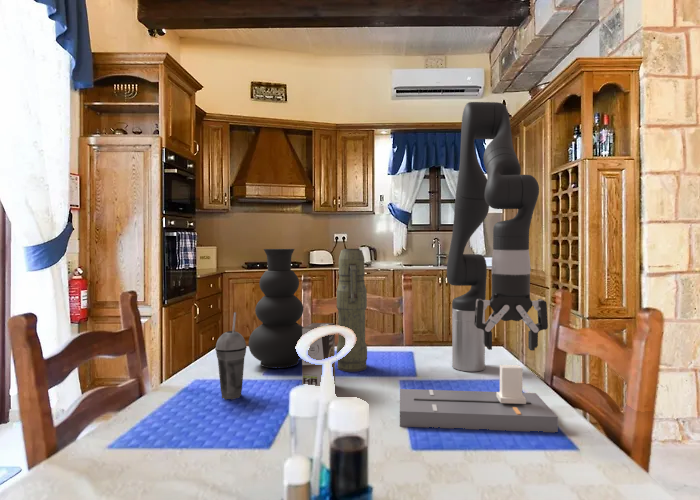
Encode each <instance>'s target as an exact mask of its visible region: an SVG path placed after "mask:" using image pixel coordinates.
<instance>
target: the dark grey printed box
mask: <svg viewBox="0 0 700 500" xmlns="http://www.w3.org/2000/svg"><path fill="white" fill-rule="evenodd" d="M327 325H335V323H334V322H311V323H310V324H308V325H306V326H304V328H302V335H303V334H305V333H307V332H308V331H310V330H312V329H314V328H317V327H321V326H327ZM335 326H336V325H335ZM335 338H336V336H335V334H334V335H328V336H325V337H322V338H320V339H318V340H317V341H315V342H314V343H313V344H312V345H311V346H310V348H309V350H308V355H309V356H310V357H311V358H313V359H316V360H322V359H325V358H328V357H331V356H334V355H335V356H336V354H335V353H336V348H335V347H336V346H335V345H336V343H335ZM335 362H336V361H335ZM335 362H334V363H333V364H332V367H333V376H334V381H335V382H336V371H335V370H336V367H335V365H336V363H335ZM321 375H322V365H315V364H311V363H309V362H306V361H304V360H303V359H302V358H301V386H302V385H303V384H308V385H315V386H320V382H321Z"/></svg>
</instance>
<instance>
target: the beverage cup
mask: <svg viewBox="0 0 700 500" xmlns="http://www.w3.org/2000/svg"><path fill="white" fill-rule="evenodd" d="M236 318H237V312H233V318H232V330H229V331H226V332H223V333H222V334H221V335H220V336H219V337H218V339H217V341H216V344H215V348H214V349H215V351H216V353H215V354H216V357H217V366H218V374H219V384H220V387H219V388H220V394H221V398H222V399H223V398H224V399H223V400H227V399H231V400H236V398H237V399H239V398H241V397H242V391H243V381H244V370H245V368H244V367H245V357H246V353H247V348H248V347H247V344H246V343H247V342H246V340H245V338H244V336H243V335H242V334H241V333H239V332H238V331H236ZM240 396H241V397H240Z"/></svg>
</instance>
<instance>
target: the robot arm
mask: <svg viewBox="0 0 700 500" xmlns="http://www.w3.org/2000/svg"><path fill="white" fill-rule="evenodd" d="M511 127H512V126H511V121H510V115H509V111H508V108H507V106H506V105H505V103H504V104H503V103H502V102H494V101H491V102H490V101H469V102H467V103H466V104H465V106H464V108H463V111H462V118H461V129H460V130H461V131H460V135H461V136H460V152H459V153H460V154H459V155H460V156H459V168H458V176H457V183H456V191H455V199H454V214H453V224H452V225H453V226H452V232H451V233H452V235H451V240H450V247H449V252H448V256H447V263H446V279H447V281H448V284H449V285H451V286H454V287H455V286H456V287H457V286H461V287H462V286H463V287H466V286H470V289H469V290H468V291H467V292H466V293H464V294H462V295H459V296H457V297H455V298H453V299H452V302H451V308H452V315H451V316H452V321H451V322H452V324H451V326H452V328H451V329H452V331H451V332H452V335H451V336H452V337H451V340H452V343H451V344H452V346H451V347H452V357H451V358H452V359H451V360H452V361H451V362H452V368H454V369H455V370H458V371H462V372H481V371H484V370H485V369H486V356H485V355H486V349H487V350H490V351H491V350H492V349H493V332H492V329H493V328H494V327H495V326H496V325H497V324H498V323H499V322H500V321H504V322H507V321H514V322H520V321H521V320H522V321H523V322H524V324H525V325H526V326H527V328H528V329H529V330H528V337H527V338H528V346H527V347H528V350H530V351H536V350H535V349H537V348H538V346H539V333H540V331H543V330H544V331H545V330H548V328H549V324H548V322H549V321H548V306H547V305H548V303H547V301H546V300H543V299H541V298H538V299H536V300H531V271H532V267H531V256H530V230H531V229H530V228H531V222H532V219H533V214H534V211H535V208H536V205H537V202H538V199H539V194H540V185H539V183H538V182H539V181H538V180H537V179H536V178H535V177H534V176H533V175H531V174H521V172H522V168H521V163H520V162H519V160H518V159H519V158H518V156H517V154H516V152H515V149H514V144H513V136H512V135H513V134H512V128H511ZM475 140H491V141H490V142H489V143H488V144H487V146H486V148H485V149H484V151H483V152H484V153H483V165H484V169H485V171H486V174H487V176H486V174H485V172H484V171H483V169H482V167H481V165H480V162H479V160H478V158H477V155H476V150H475ZM490 208H491V209H494V210H517V213H516V214H515V216H514V217H513V218H510V219H506V220H501V221H497V222H496V223H495V224H494V225H493V229H492V234H493V235H492V249H493V250H492V257H491V296H490V299H486V297H487V292H486V290H487V275H488V274H487V273H488V270H487V269H488V266H487V261H486V258H485V257H484V255H482V254H478V253H465V249H466V246H467V245H468V241H469V240H470V239H471V237H472V236H473V234H474V233H475V232H476V231H477V230H478V229H479V227H480V226H481V225H482V223H483V222H484V221H485V220H486V218H487V216H488V213H489V210H490ZM488 306H489V307H490V309H492V313H491V314H490V315H489V316H488V319H487V320H486V318H485V317H486V310H487V308H488ZM532 307H533V308H534V310H535V311H536V312H537V323H535V322H534V321H533V319H532V318H531V316H530V315H529V314H528V312H529V311H530V310H531V309H532Z"/></svg>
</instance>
